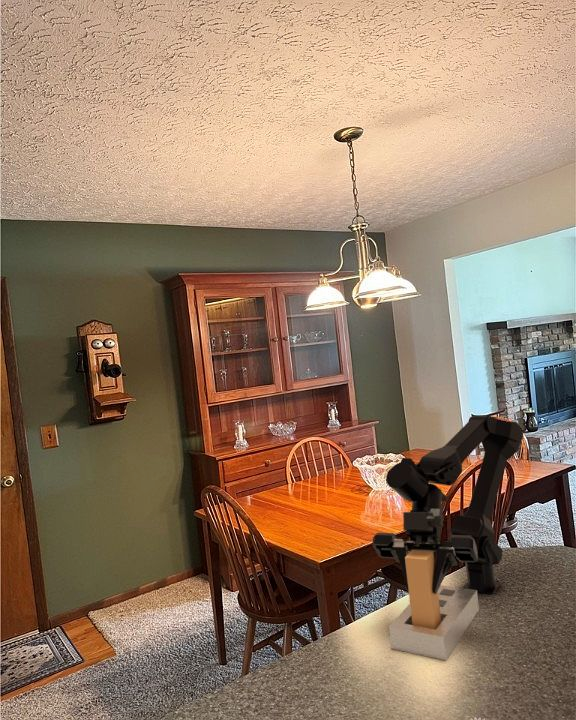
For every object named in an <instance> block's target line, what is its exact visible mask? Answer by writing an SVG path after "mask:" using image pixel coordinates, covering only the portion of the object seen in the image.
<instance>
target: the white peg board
mask: <svg viewBox="0 0 576 720" xmlns="http://www.w3.org/2000/svg"><path fill="white" fill-rule="evenodd" d="M438 597H439V606H440V614H441V623H440V625H439V626H438V628H437V629H436V630H435V629H430V628H425V627H419V626H414V625H413V624H412V615H411V606H410V603H409V604H408V605H407V606H406V608H405V609H404V610H402V612H401V613H400V614H399V615H398V616H397V617H396V619H394V621H392V623H391V624H390V625H389V626H388V629H389V630H388V631H389V639H390V647H391V649H392V650H395V651H400V652H405V653H410V654H414V655H419V656H423V657H427V658H432V659H438V660H443V661H447V659H448V658H449V657H448V656H450V655H451V653H452V652H453V650H455V647H456V646H457V644H458V643H459V642H460V639H461V638H462V637H463V635H465V632H466V631H467V629H468V628H469V626H470V625H471V623H472V621H473V620H474V618H475V617H476V615H477V614H478V612H479V611H480V607H479V600H478V599H479V598H478V597H479V595H478V593H477V590H472V589H465V588H463V587H459V586H458V587H457V586H450V585H443V584H441V585H440V587H439V589H438Z"/></svg>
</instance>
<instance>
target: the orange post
mask: <svg viewBox="0 0 576 720" xmlns="http://www.w3.org/2000/svg"><path fill="white" fill-rule="evenodd" d="M434 555H435V554H434V552H433V551H421V550H412V551H409V554H408V555H407V556H406V557H405V563H406V572H407V580H408V589H409V592H408V597H409V604H410V606H411V615H412V624H413V625H414V626H419V627H425V628H430V629H435V630H436V629H437V628H438V626H439V625H440V623H441V614H440V606H439V597H438V591H437V593H436V594H434V593H433V579H434V572H435V565H436V561H435V556H434Z"/></svg>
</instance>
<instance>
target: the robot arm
mask: <svg viewBox="0 0 576 720" xmlns="http://www.w3.org/2000/svg"><path fill="white" fill-rule="evenodd" d="M523 439H524V430H523V428H522V426H520V425H519V423H518V422H517V421H513V420H510V421H509V420H508V421H507V420H504V419H501V418H500V419H499V418H496V417H494V416H492V415H489V414H488V415H484V414H483V415H481V414H478V415H477V414H476V415H475V414H474V415H471V416H470V417H469V419H468V421H467V422H466V424H465V425H463V426H462V428H461V429H460V430H458V432H457V433H456V434H454V435H453V437H451V439H450V440H449V441H448V442H447V443H445V444H444V446H443V445H442V447H440V448H436V449H433V450H431V451H429V452H428V453H426V454H424V455H423V456H422V457H421V458H420V459H419V462H417V463H415V460H413V459H412V458H409V457H402V459H401V460H400V461H399V462H398V463H396V464H394V465H393V466H392V467H391V468H390V469H389V470H388V471H387V473H386V478H385V479H386V480H385V481H386V484H387V486H388V487H390V488H391V489H392V490H393V491H394V492H396V493H397V494H398V495H399V496H400V497H401V498H403V500H405V501H406V502H408V503H409V502H410V503H411V510H410V511H404V512H402V513H403V514H402V517H403V521H402V522H403V525H402V526H403V531H405V535H406V537H407V538H409V539H408V540H407V539H406V540H405V539H402V538H397V536H396V535H395V533H394V532H376V533H375V534H374V536H373V537H372V543H371V544H372V545H371V546H372V547H373V549H374V551H375V552H376V554H377V556H378V557H379V558H382V559H394V560H395V561H396V563H399V564H400V567H401V569H402V570H401V571H402V574H403V579H404V584H405V587H406V591H407V592H408V593H409V589H408V580H407V572H406V563H405V557H406V556H407V555H408V554H409V553H410V552H411V551H412V550H421V551H433V553H435V572H434V579H433V593H434V594H436V593H437V591H438V589H439V587H440V585H442V583H443V581H444V579H445V577H446V576H447V574H448V573H449V571H450V570H451V568H452V567H453V566H454V567H455V566H458V561H459V562H461V563H465V571H466V572H465V573H466V582H465V584H464V585H463V587H462V588H465V589H472V590H477V594H485V595H491V596H492V595H494V594H495V592H496V591H497V590H498V588H499V586H501V585H500V584H501V581H500V580H496V579H495V571H494V569H495V568H494V566H496V565H500V563H501V561H502V560H503V553H504V552H503V549H502V548H501V547H500V546H499V544H498V543H497V542H495V535H496V534H495V531H494V527H493V525H492V521H491V519H492V515H493V511H494V509H495V504H496V501H497V497H498V494H499V489H500V487H501V483H502V479H503V475H504V473H505V469H506V465H507V463H508V460H510V458H512V457H513V456H515V454H516V453H517V452H518V451H519V448H520V445H521V443H522V440H523ZM480 444H482V445H481V446H482V447H483V451H484V455H483V458H482V462H481V465H480V469H479V472H478V476H477V478H476V482H475V485H474V489H473V490H472V491H473V492H472V494H471V495H472V496H471V499H470V501H469V505H468V509H467V511H466V512H465V513H464V514H463V515H462V514H457V515H456V516H455V517H454V520H453V526H452V527H451V529H450V533H451V534H450V538H449V541H441V530H442V528H443V527H444V517H443V515H444V514H443V510H442V508H443V507H442V506H443V505H442V504H443V503H444V502H447V501H448V498H447V496H446V494H445V493H443V491H442V489H441V488H439V487H438V486H437V485H443V486H453V485H454V484H455V483H456V482H457V480H458V478H460V476H461V474H462V473H463V463H464V462H465V461H466V460H467V458H468V457H469V456H470V455H471V454H472V453H473V452H474V451H475V450H476V448H477V447H478V446H479V445H480Z"/></svg>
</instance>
